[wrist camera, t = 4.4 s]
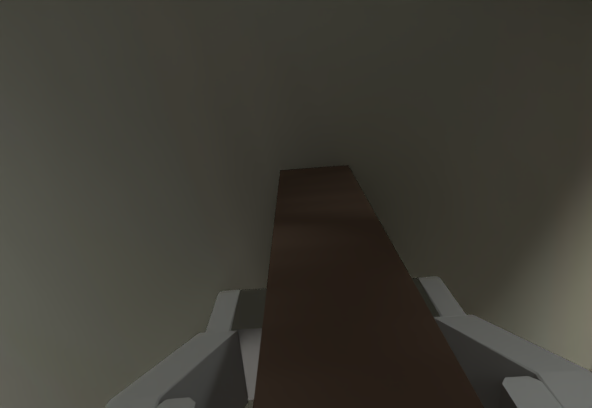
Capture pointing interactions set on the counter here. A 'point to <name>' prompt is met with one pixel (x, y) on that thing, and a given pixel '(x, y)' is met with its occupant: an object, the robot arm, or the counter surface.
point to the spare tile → (346, 309)
